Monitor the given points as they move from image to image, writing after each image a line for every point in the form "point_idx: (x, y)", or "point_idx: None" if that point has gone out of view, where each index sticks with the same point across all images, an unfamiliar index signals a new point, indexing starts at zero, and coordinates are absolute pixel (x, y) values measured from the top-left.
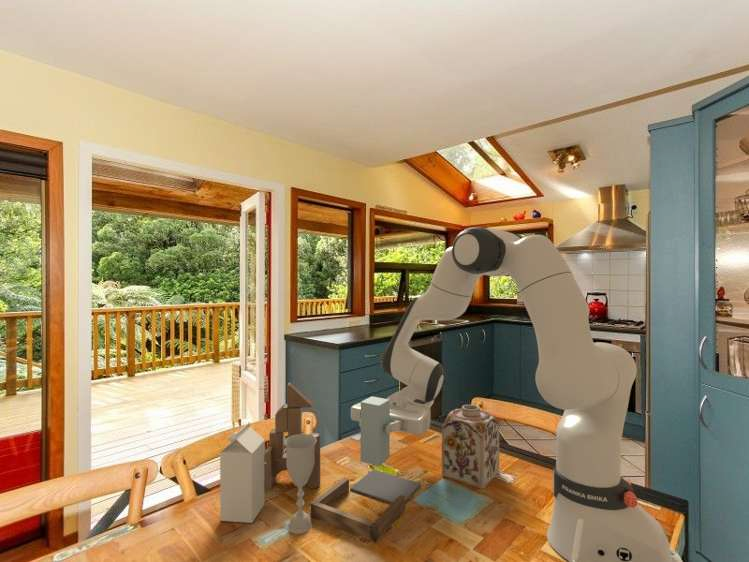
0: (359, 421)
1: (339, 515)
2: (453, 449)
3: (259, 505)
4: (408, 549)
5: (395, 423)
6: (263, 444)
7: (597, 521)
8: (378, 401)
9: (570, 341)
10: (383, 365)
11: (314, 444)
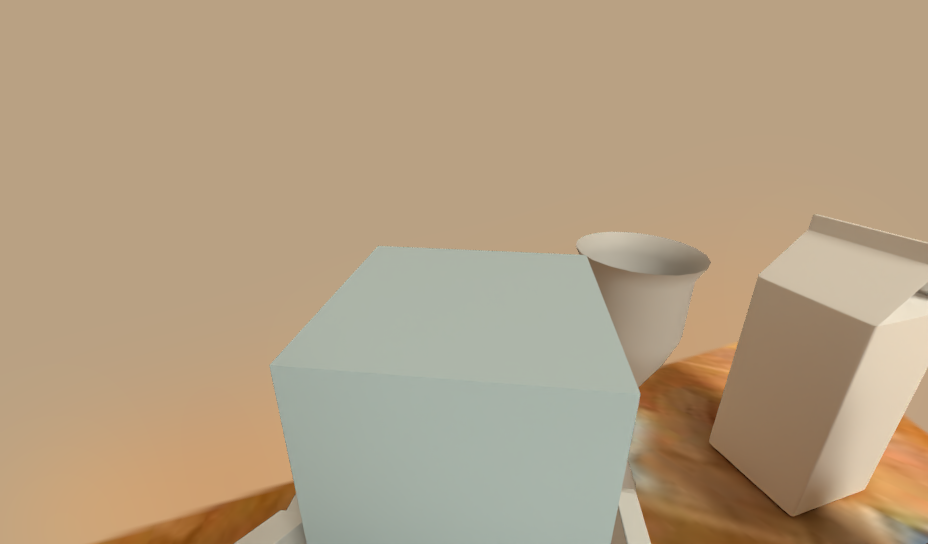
0: (629, 489)
1: None
2: None
3: (757, 466)
4: (275, 505)
5: (241, 539)
6: (859, 333)
7: None
8: (419, 291)
9: None
10: None
11: (581, 254)
